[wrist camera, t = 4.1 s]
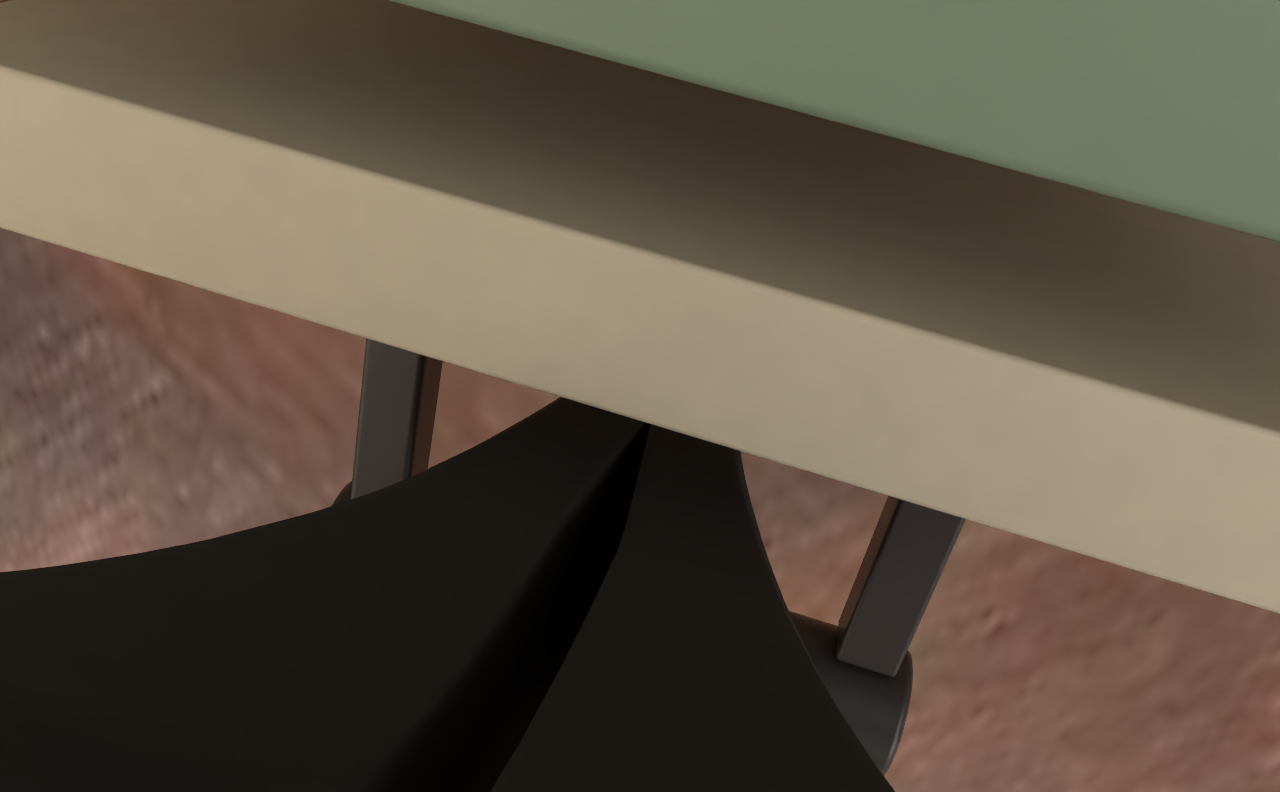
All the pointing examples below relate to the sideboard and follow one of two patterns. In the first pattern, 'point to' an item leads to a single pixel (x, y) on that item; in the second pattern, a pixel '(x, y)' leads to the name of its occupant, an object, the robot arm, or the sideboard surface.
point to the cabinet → (982, 80)
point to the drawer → (679, 281)
